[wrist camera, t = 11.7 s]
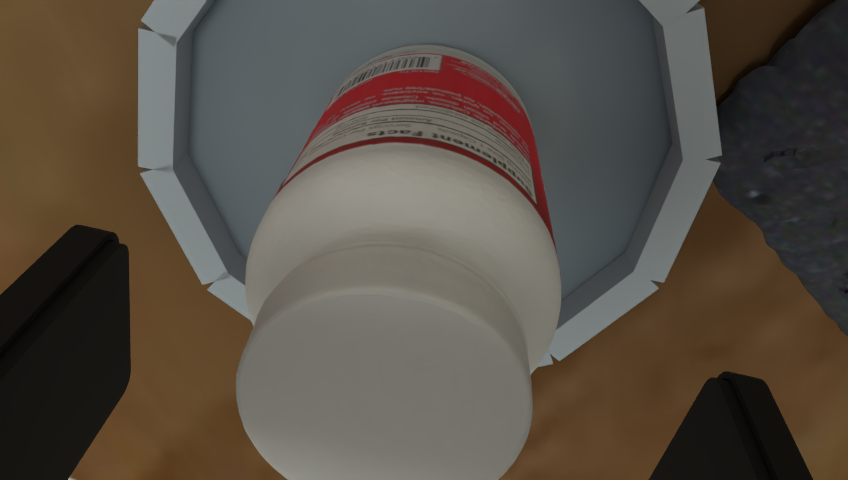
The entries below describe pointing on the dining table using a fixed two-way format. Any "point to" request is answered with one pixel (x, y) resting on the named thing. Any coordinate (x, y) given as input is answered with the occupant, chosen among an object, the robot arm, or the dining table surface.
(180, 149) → the dish
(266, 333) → the pill bottle
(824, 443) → the dining table surface
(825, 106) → the dark slate chunk
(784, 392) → the dining table surface
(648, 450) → the dining table surface
